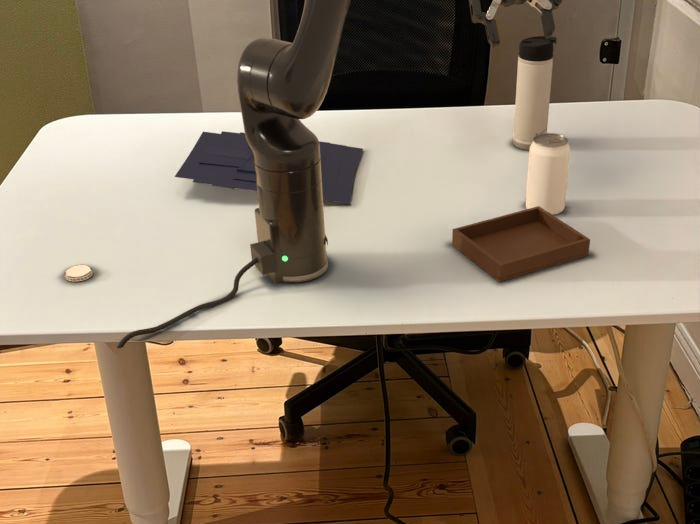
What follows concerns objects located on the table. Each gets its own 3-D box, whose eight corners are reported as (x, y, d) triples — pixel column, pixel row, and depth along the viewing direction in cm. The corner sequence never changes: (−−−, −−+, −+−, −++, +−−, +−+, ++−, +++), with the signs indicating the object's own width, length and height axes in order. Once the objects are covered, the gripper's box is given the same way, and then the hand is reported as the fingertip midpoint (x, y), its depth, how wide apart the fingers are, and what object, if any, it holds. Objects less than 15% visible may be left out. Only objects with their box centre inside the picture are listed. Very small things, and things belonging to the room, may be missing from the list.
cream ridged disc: (82, 265, 140) (81, 261, 140) (98, 273, 138) (97, 269, 138) (59, 275, 138) (58, 272, 138) (75, 284, 136) (74, 280, 136)
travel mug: (546, 151, 175) (555, 43, 163) (511, 149, 176) (517, 41, 164) (548, 139, 180) (557, 33, 168) (514, 137, 181) (521, 31, 169)
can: (519, 203, 157) (523, 134, 150) (554, 197, 158) (560, 129, 151) (534, 219, 152) (540, 149, 145) (571, 213, 153) (578, 144, 146)
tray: (499, 282, 135) (500, 265, 134) (452, 245, 145) (452, 229, 143) (588, 255, 141) (590, 239, 140) (537, 221, 151) (538, 205, 149)
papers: (205, 141, 177) (205, 123, 175) (362, 161, 177) (363, 143, 175) (172, 196, 157) (171, 176, 155) (348, 218, 158) (350, 199, 155)
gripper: (462, -64, 142) (483, 40, 142) (552, -79, 143) (572, 25, 144) (455, -43, 150) (475, 57, 150) (540, -57, 151) (560, 41, 151)
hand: (523, 41), depth 147 cm, fingers open, 8 cm apart
